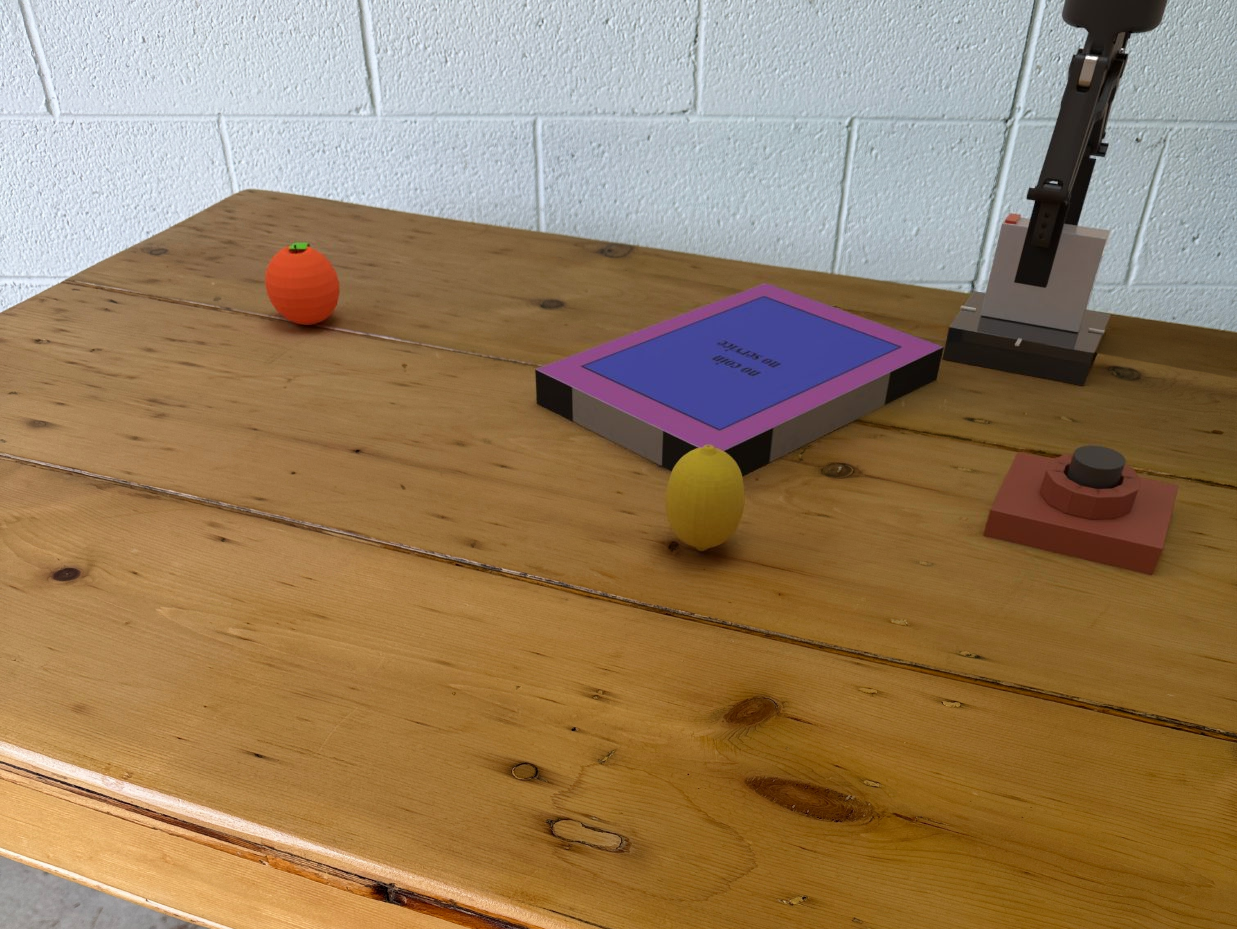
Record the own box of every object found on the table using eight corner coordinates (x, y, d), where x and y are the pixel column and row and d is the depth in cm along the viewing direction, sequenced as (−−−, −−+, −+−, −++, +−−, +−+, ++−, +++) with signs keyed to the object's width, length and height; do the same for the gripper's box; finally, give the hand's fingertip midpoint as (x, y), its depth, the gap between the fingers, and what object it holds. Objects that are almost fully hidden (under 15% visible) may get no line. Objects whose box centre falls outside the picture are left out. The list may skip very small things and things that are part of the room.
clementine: (286, 304, 112) (271, 228, 107) (354, 305, 112) (342, 229, 107) (265, 335, 107) (248, 257, 102) (336, 337, 107) (323, 258, 102)
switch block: (1168, 511, 85) (1187, 462, 82) (1152, 575, 78) (1172, 525, 76) (1010, 477, 88) (1024, 429, 86) (982, 536, 82) (996, 486, 79)
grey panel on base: (1082, 323, 103) (1111, 227, 97) (1078, 332, 101) (1107, 235, 95) (985, 307, 105) (1008, 212, 100) (980, 315, 104) (1002, 220, 98)
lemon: (746, 536, 82) (756, 433, 76) (731, 576, 78) (740, 470, 72) (673, 525, 83) (678, 422, 77) (655, 564, 79) (658, 459, 73)
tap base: (1104, 340, 108) (1115, 306, 105) (1082, 393, 99) (1093, 357, 97) (969, 316, 112) (976, 283, 109) (936, 365, 103) (944, 331, 101)
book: (943, 346, 99) (714, 455, 84) (936, 379, 101) (711, 491, 86) (766, 282, 110) (535, 369, 95) (763, 314, 112) (536, 403, 97)
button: (1121, 474, 81) (1129, 451, 80) (1113, 496, 79) (1122, 473, 78) (1071, 463, 83) (1078, 441, 81) (1062, 485, 80) (1069, 462, 79)
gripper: (1100, -63, 93) (1030, 212, 109) (1045, -16, 78) (972, 298, 93) (1194, -56, 91) (1109, 224, 106) (1157, -6, 75) (1063, 314, 91)
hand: (1045, 259), depth 100 cm, fingers open, 13 cm apart
